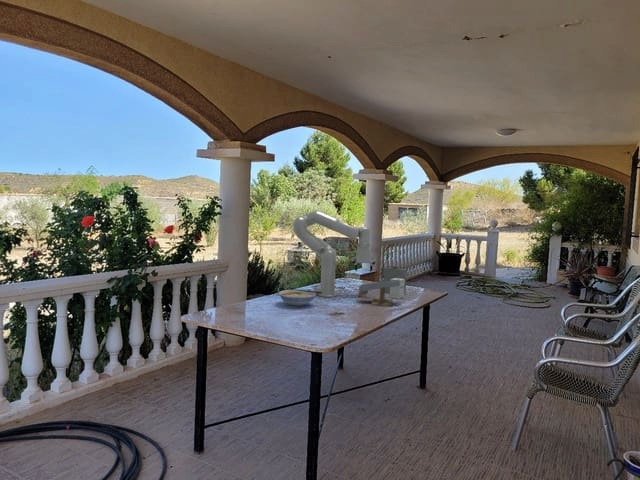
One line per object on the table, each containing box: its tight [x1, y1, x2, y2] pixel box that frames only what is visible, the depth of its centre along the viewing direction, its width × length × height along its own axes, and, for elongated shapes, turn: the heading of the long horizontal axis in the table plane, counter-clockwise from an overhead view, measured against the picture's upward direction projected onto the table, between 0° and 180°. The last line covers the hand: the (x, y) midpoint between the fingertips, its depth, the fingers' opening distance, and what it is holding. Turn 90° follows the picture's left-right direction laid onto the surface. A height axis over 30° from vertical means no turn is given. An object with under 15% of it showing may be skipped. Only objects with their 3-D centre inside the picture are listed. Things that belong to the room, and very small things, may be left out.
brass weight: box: [357, 285, 367, 298], centre depth 310 cm, size 5×5×7 cm
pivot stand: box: [371, 287, 393, 308], centre depth 292 cm, size 12×18×11 cm, turn 170°
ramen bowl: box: [278, 288, 322, 307], centre depth 279 cm, size 25×23×8 cm
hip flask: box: [383, 264, 408, 295], centre depth 326 cm, size 16×4×20 cm, turn 69°
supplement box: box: [389, 278, 405, 300], centre depth 311 cm, size 7×7×13 cm
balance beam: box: [358, 279, 400, 296], centre depth 292 cm, size 25×10×5 cm, turn 80°
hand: (363, 271), depth 309 cm, fingers open, 9 cm apart
